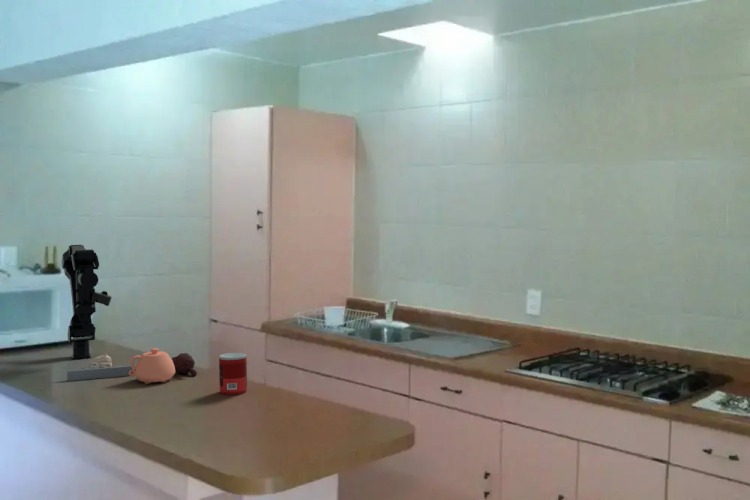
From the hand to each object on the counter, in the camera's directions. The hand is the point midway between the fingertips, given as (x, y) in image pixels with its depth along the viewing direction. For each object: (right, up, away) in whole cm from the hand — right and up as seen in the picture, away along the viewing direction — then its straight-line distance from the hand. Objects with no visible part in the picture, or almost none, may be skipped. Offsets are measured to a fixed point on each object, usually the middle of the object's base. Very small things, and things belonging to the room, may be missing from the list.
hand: (86, 330), depth 254 cm
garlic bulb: (+10, -13, -15) cm, 22 cm away
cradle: (+11, -13, -17) cm, 24 cm away
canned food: (+59, -14, -38) cm, 72 cm away
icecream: (+37, -13, -14) cm, 42 cm away
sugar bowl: (+30, -14, -24) cm, 41 cm away
